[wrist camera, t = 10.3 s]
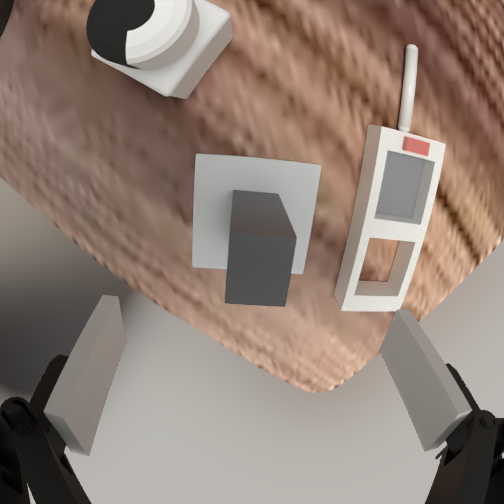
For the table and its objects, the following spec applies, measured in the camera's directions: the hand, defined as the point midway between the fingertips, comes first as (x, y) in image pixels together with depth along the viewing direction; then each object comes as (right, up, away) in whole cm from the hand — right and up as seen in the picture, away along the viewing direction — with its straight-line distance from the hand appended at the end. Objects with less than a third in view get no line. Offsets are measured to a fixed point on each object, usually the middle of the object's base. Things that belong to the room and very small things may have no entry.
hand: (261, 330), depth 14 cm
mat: (0, +7, +15) cm, 16 cm away
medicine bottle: (-7, +21, +8) cm, 24 cm away
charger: (0, +7, +15) cm, 16 cm away
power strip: (+13, +11, +14) cm, 22 cm away
